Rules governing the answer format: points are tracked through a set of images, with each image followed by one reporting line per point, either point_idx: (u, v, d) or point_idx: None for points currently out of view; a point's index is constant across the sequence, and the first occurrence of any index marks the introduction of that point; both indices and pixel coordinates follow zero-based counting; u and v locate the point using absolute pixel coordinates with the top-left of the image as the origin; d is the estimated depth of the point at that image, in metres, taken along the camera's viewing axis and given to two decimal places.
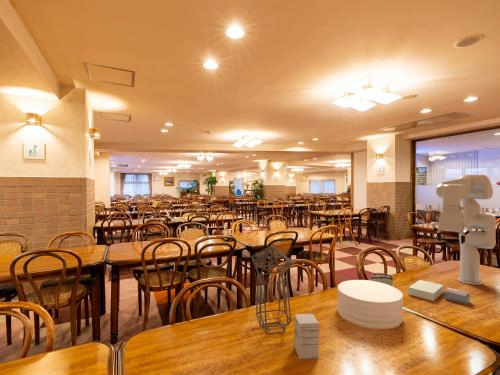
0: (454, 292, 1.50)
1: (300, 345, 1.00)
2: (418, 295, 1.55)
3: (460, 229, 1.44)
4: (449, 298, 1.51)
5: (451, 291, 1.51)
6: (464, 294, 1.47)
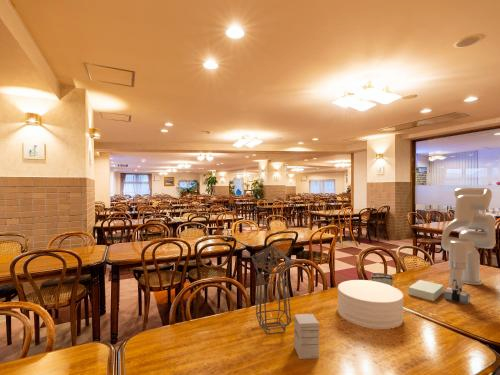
0: None
1: (300, 345, 1.00)
2: (418, 295, 1.55)
3: (463, 282, 1.52)
4: (449, 298, 1.51)
5: (451, 290, 1.50)
6: (464, 294, 1.47)
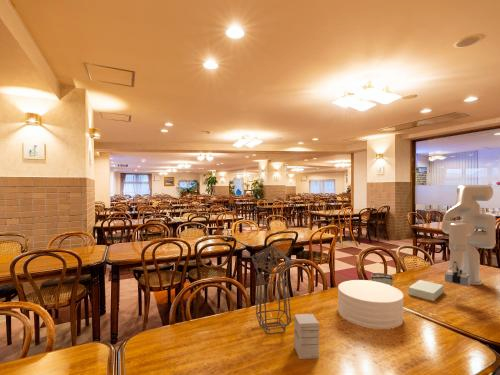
0: None
1: (300, 345, 1.00)
2: (418, 295, 1.55)
3: (464, 264, 1.52)
4: (449, 280, 1.51)
5: None
6: (464, 275, 1.47)
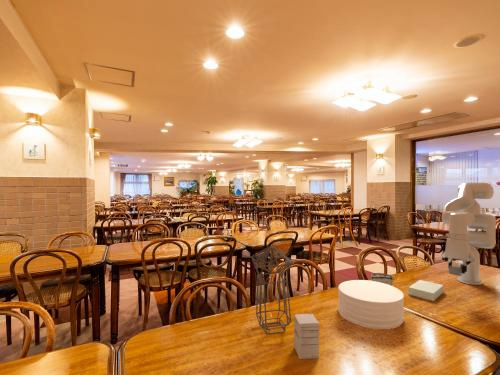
0: (462, 264, 1.48)
1: (300, 345, 1.00)
2: (418, 295, 1.55)
3: None
4: (461, 272, 1.47)
5: (461, 264, 1.47)
6: None
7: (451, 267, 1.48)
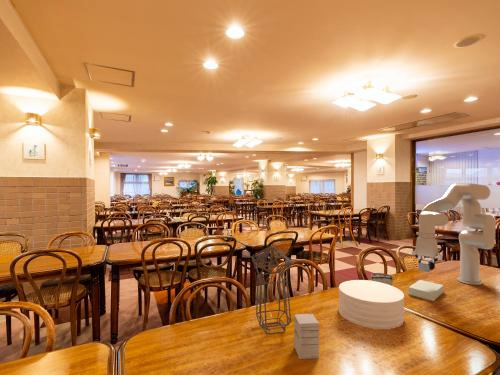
0: (430, 261, 1.58)
1: (300, 345, 1.00)
2: (418, 295, 1.55)
3: None
4: (429, 269, 1.56)
5: (429, 261, 1.57)
6: None
7: (420, 264, 1.58)
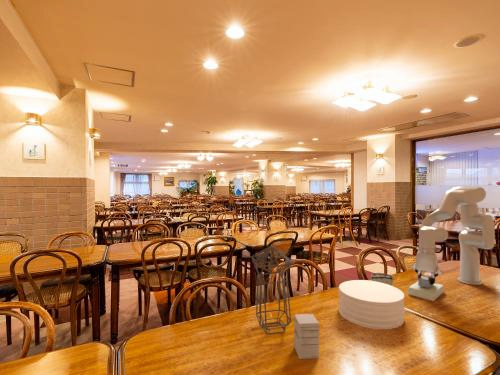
0: (430, 277, 1.58)
1: (300, 345, 1.00)
2: (418, 295, 1.55)
3: None
4: (429, 284, 1.56)
5: (429, 277, 1.57)
6: None
7: (420, 279, 1.58)
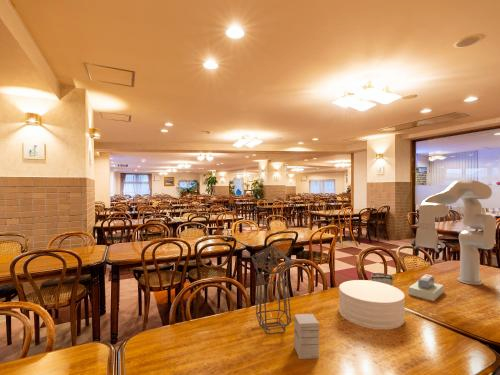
0: (430, 278, 1.58)
1: (300, 345, 1.00)
2: (418, 295, 1.55)
3: None
4: (429, 286, 1.57)
5: (429, 278, 1.57)
6: (432, 276, 1.61)
7: (420, 281, 1.58)
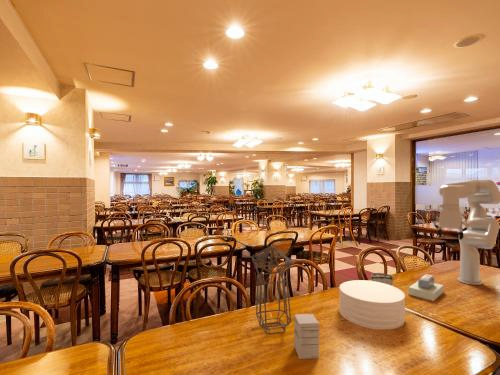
0: (430, 278, 1.58)
1: (300, 345, 1.00)
2: (418, 295, 1.55)
3: None
4: (429, 286, 1.57)
5: (429, 278, 1.57)
6: (432, 276, 1.61)
7: (420, 281, 1.58)
